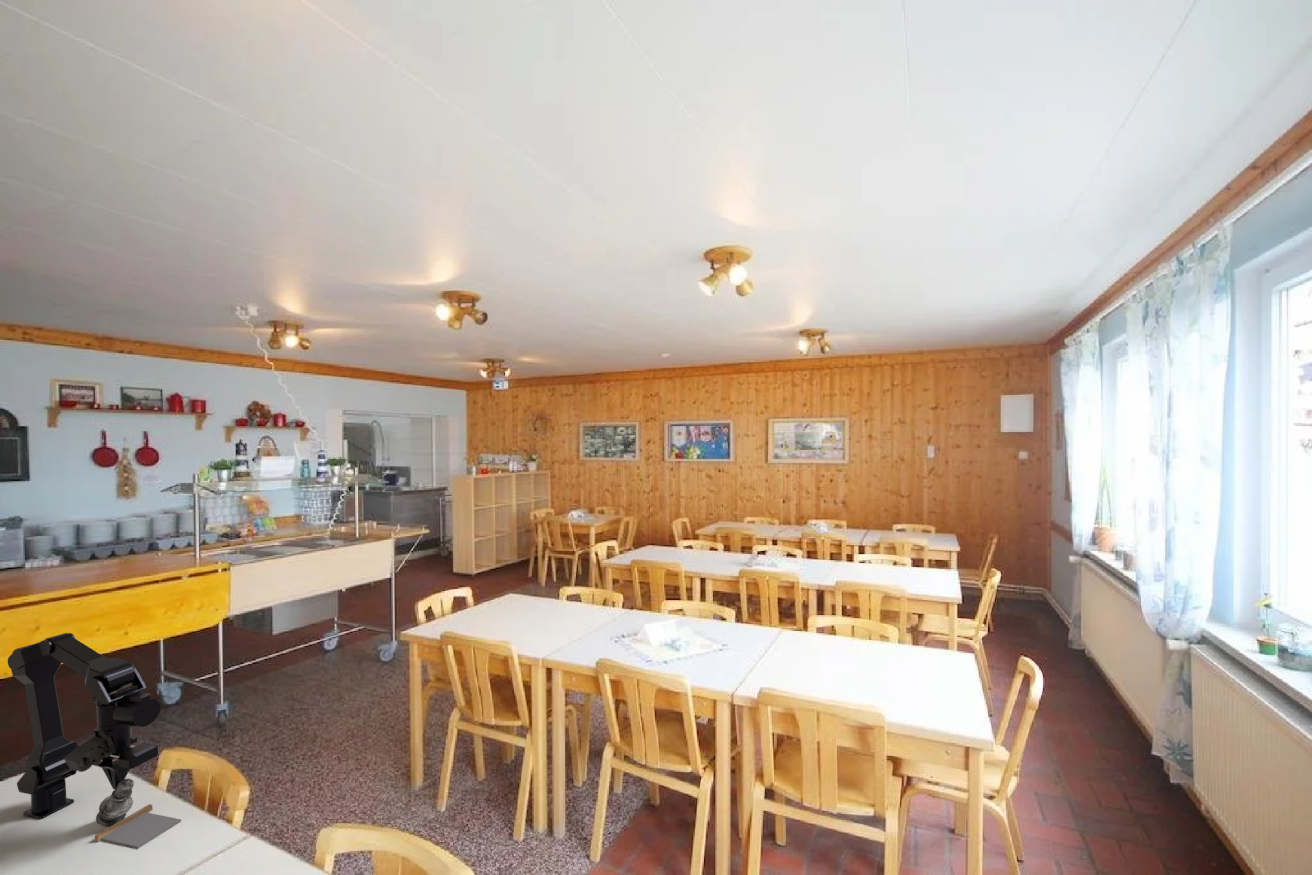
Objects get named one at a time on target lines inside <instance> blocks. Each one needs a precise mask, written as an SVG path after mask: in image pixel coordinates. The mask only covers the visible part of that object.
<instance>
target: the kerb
mask: <svg viewBox="0 0 1312 875" xmlns="http://www.w3.org/2000/svg"><path fill="white" fill-rule="evenodd" d="M153 808H154V807H153V804H151V803H149V804H147V805H145V806H144V807H142V808H140V809H139V810H137V811H135V812H133V813H131V814H130V815H127V816H125V818H124V819H123V820H121V821H119V822H117V823H116V824H114V825H112V826H110V827H106V828H105V829H103V830H102V831H100V832H97V834H95V835H94V841H95V842H98V843H99V842H101V841H102V840H101V838H102V837H104V836H106V835H107V834H109V833H111V832H113V831H114V830H116V829H118V828H119V827H121V826H123V825H125V824H126V823H128V822H130V821H131V820H133V819H135V818H137V817H138V816H140V815H142V814H143V813H145V812H147V813H151V812H152V811H153Z"/></svg>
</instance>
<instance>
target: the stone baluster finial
mask: <svg viewBox="0 0 1312 875" xmlns="http://www.w3.org/2000/svg"><path fill="white" fill-rule="evenodd" d="M134 786H135V782H134V779H132V778H125V779H124V780H122V781H120V783H119V784H118V786H117V788H116V789H113V791H112V792H111V794H110V795H109V796H107V797H105V798H104V799H103V800H101V802H100V803H99V806H98V807H99V808H98V811H99V812H97V814H96V816H95V821H96V824H97V825H98V826H100V827H103V828H109V827H110V826H112V825H114V824H116V823H117V822H119V821H121V820H123V819H124V818H126V817H127V813H128V812H129V811H130V810H131V808H132V807H133V804H134V799H133V797H132V794H133V790H132V789H133V787H134Z"/></svg>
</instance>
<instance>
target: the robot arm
mask: <svg viewBox="0 0 1312 875" xmlns="http://www.w3.org/2000/svg"><path fill="white" fill-rule="evenodd" d="M62 664H63V665H65V667H67V668H69V669H71V670H72V671H74V672H76V673H77V674H78V675H80V676H82V678H84V687H85V688H86V689H87V690H88V691H89V693H91V694H92V695H93V696H92V698H90V702H91V703H95V704H96V727H95V728H94V729H92V731H91V732H90V738H89V739H87V740H85V741H82V742H80V743H77V742H76V741H75V740H72V741H71V740H70V739H68V738H67V737H65V735H64V730H63V729H64V728H63V722H62V716H61V712H60V711H61V710H60V705H59V698H58V692H57V687H56V680H55V679H56V678H55V676H56V674H57V672H58V670H59V668H60V667H61V665H62ZM7 666H8V667H9V668H10V671H11V675H12V677H13V678H15V680H17V681H19V682H20V683H21V684H23V685H24V690H25V696H26V701H27V702H26V703H27V707H28V714H29V719H30V726H31V732H32V733H31V734H32V737H33V738H32V739H33V747H32V749H31V751H30V753H29V755H28V757H27V759H26V770H25V772H24V773H23V775H22V776H21V777H20V778H19V779H18V781H17V782H16V786H17V790H18V793H22V794H25V795H26V794H27V795H30V807H31V808H29V809H26V810H25V811H23V813H22V815H23V816H28V817H32V818H36V819H44V818H45V817H48V816H50V815H51V814H52V815H53V813H56V812H58V811H59V810H61V809H63V808H65V807H67V806H69V805H72V803H74V802H75V799H73V798H69V797H67V786H66V785H67V784H66V779H67V778H69V777H71V776H75V775H76V774H77V772H80V773H83V772H86V771H88V770H89V769H91V768H92V766H95V767H98V768H100V769H102V771H103V772H104V774H105V776H106V779H107V780H108V781H109V784H110V786H111V788H112V789H113V790H115V789H116V788H117V786H118V784H119V783H120V781H122V780H124V779H127V775H128V773H129V772H130V770H131V769H135V768H136V767H138V766H140V765H142V764H144V763H146V762H148V761H150V760H152V759H154V758H156V757H159V755H160V746H159V745H157V744H155V743H151V742H141V743H140V744H137V745H134V744H136V743H137V742H138V737H135V736H133V732H132V731H133V730H132V729H133V728H132V727H139V728H141V727H142V728H144V727H147V726H149V725H151V724H152V723H154V722H155V721H156V720H157V718H158V717H159V715H160V713H161V710H162V705H161V704H160V702H159V701H158V700H157V699H155V698H151V693H150V692H148V693H147V692H144V693H142V692H143V691H145V690H147V686H146V681H145V678H144V679H143V677H142V676H141V675H140V673H139V672H138V670H137V668H136V666H135V665H134V664H133V663H132V662H130V661H128V660H125V659H121V657H120V658H119V657H116V658H115V657H106V656H104V655H102V654H101V653H99V652H97V651H96V650H94V649H93V648H91V647H90V646H88V645H86V644H85V643H83V642H81V641H79V640H78V639H77V638H76V636H75V635H74V634H73V633H71V632H64V633H61V634H57V635H53V636H50V637H46V638H45V639H42V640H41V641H39V642H35V643H32V644H28V645H24V646H22V647H17V648H15V649H14V650H13V651H12V653H11V654H10V655H9V656H8V658H7ZM129 686H130V687H129Z"/></svg>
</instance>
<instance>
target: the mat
mask: <svg viewBox="0 0 1312 875" xmlns="http://www.w3.org/2000/svg"><path fill="white" fill-rule="evenodd" d="M181 822H182V819H180V818H176V817H171V816H166V815H162V814H156V813H151V812H148V813H147V812H145V813H143V814H142V815H140V816H138V817H137V818H135V819H133V820H131V821H130V822H128V823H126V824H125V825H123V826H121V827H119V828H118V829H116V830H114V831H113V832H111V833H109V834H107V835H106V836H104V837H102V838H101V840H100V841H102V842H107V843H112V844H117V845H121V846H125V847H130V848H134V849H140V848H141V847H143V846H144V845H146V844H147V843H149V842H151V841H152V840H154V839H155V838H158V837H159V836H160V835H162V834H164V833H165V832H167V831H168V830H170V829H171V828H173V827H174V826H176V825H178V824H179V823H181Z"/></svg>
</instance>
